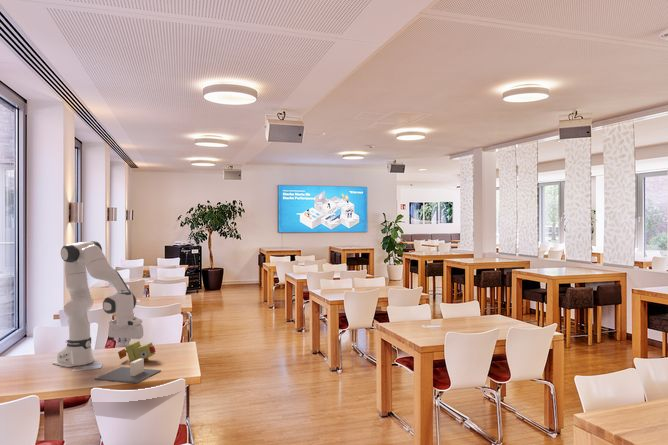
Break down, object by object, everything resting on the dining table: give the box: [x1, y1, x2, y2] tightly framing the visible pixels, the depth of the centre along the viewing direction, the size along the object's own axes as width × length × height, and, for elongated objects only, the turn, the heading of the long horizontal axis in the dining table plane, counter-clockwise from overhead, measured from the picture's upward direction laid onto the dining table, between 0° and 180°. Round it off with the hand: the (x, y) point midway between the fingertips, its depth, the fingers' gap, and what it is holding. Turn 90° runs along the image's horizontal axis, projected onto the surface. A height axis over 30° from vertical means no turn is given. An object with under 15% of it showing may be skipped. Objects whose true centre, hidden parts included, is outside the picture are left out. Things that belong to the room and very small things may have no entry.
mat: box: [94, 366, 162, 384], centre depth 262 cm, size 26×20×1 cm
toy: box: [117, 340, 157, 364], centre depth 287 cm, size 9×12×20 cm
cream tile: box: [129, 358, 145, 376], centre depth 262 cm, size 2×8×7 cm, turn 164°
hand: (125, 346), depth 264 cm, fingers closed
